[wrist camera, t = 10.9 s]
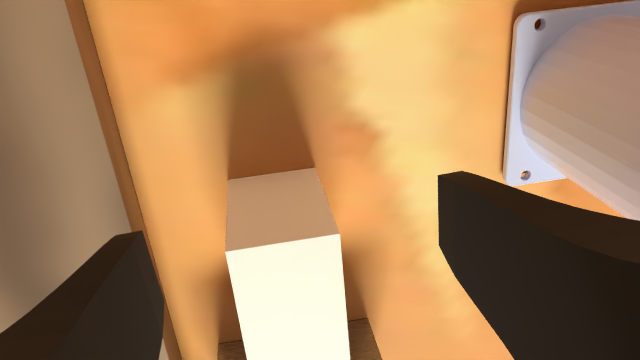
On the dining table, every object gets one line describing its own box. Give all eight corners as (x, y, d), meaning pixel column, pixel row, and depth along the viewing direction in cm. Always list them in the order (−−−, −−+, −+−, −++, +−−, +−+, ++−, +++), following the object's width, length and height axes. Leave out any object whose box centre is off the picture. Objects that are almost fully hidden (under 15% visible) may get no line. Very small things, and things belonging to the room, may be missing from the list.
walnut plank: (-16, -355, 14) (-52, -398, 13) (190, 392, 27) (187, 423, 25) (-324, -343, 14) (-409, -388, 12) (38, 420, 26) (23, 454, 25)
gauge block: (315, 166, 23) (339, 233, 18) (326, 274, 25) (350, 361, 20) (227, 179, 23) (225, 251, 17) (247, 287, 25) (251, 379, 20)
